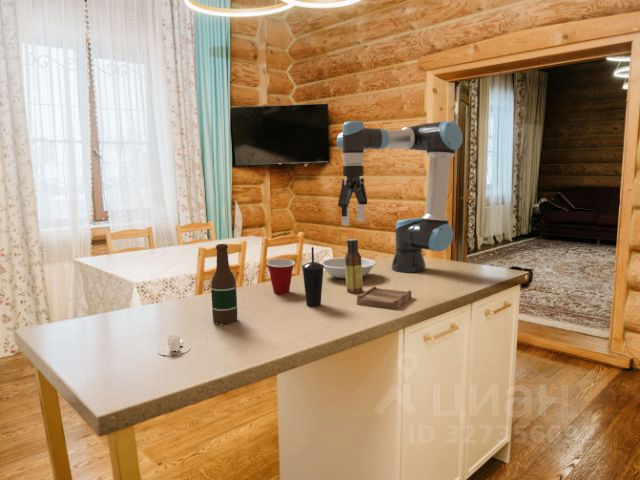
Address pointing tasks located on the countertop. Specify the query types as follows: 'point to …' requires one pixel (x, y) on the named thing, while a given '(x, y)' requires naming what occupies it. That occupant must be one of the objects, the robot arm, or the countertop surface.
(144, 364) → the countertop surface
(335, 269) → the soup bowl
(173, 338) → the teacup and saucer
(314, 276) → the drinking cup
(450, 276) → the countertop surface
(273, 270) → the plastic cup
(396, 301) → the board
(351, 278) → the sauce bottle
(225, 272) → the beer bottle
